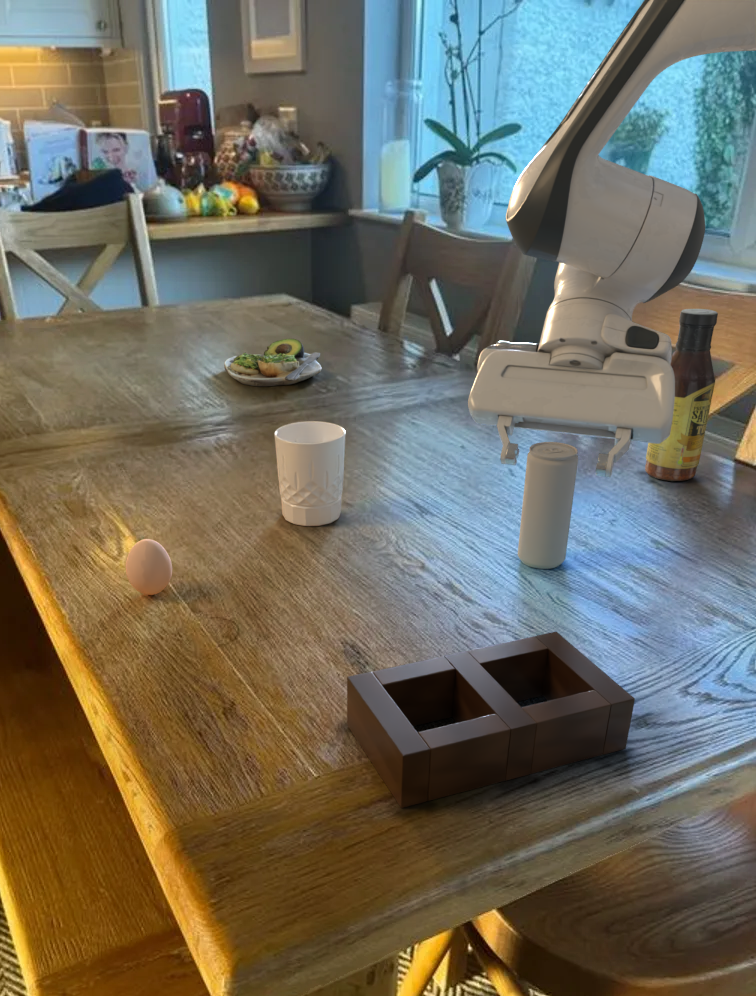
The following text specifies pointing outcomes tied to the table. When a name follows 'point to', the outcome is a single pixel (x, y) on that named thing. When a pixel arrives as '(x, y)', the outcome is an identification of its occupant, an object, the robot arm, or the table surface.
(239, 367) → the avocado toast plate
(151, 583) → the egg
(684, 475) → the sauce bottle
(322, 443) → the white cup
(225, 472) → the table surface
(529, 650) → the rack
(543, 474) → the beverage can
